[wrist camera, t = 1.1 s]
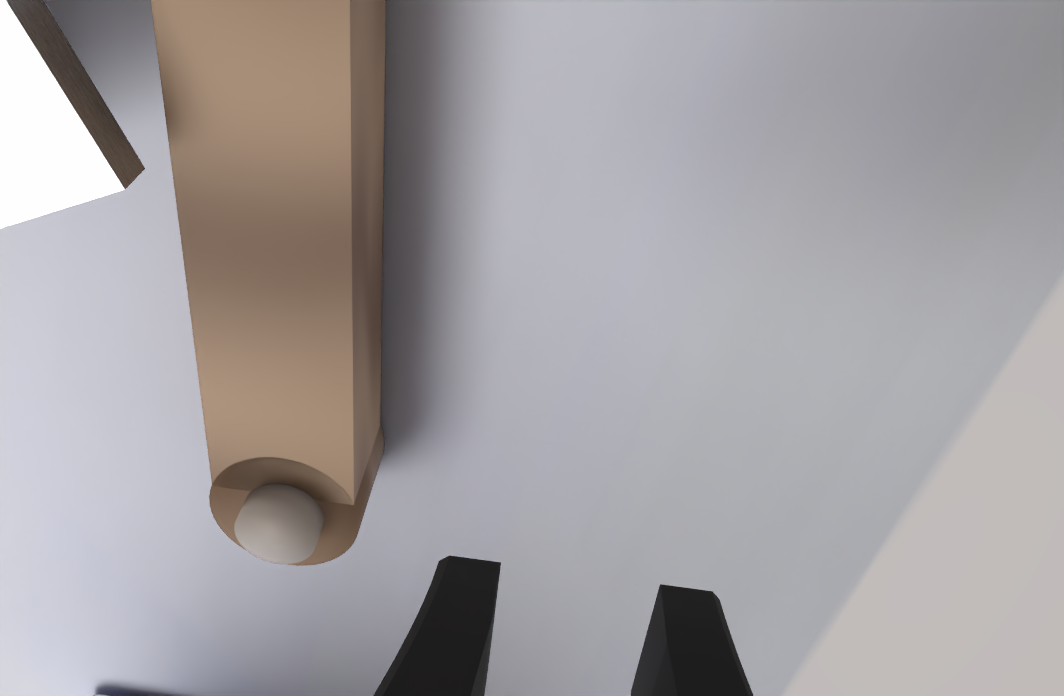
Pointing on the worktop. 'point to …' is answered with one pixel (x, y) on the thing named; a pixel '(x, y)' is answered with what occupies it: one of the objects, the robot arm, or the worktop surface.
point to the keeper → (52, 122)
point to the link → (282, 257)
